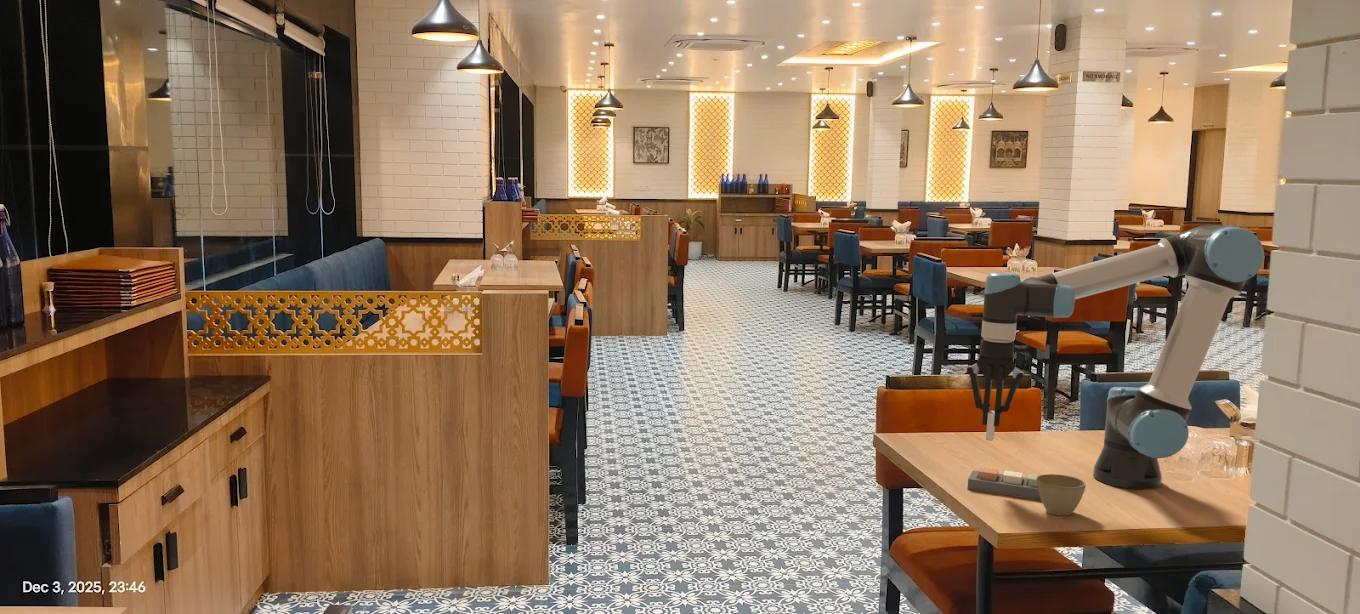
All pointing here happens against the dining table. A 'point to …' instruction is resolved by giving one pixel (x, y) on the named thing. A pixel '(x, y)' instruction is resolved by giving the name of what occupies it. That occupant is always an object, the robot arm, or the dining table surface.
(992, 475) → the peach key
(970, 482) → the keyguard
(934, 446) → the dining table surface
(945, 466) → the dining table surface
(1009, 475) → the cream key
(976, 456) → the dining table surface
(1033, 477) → the sage key
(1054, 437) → the dining table surface
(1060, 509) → the flower pot
